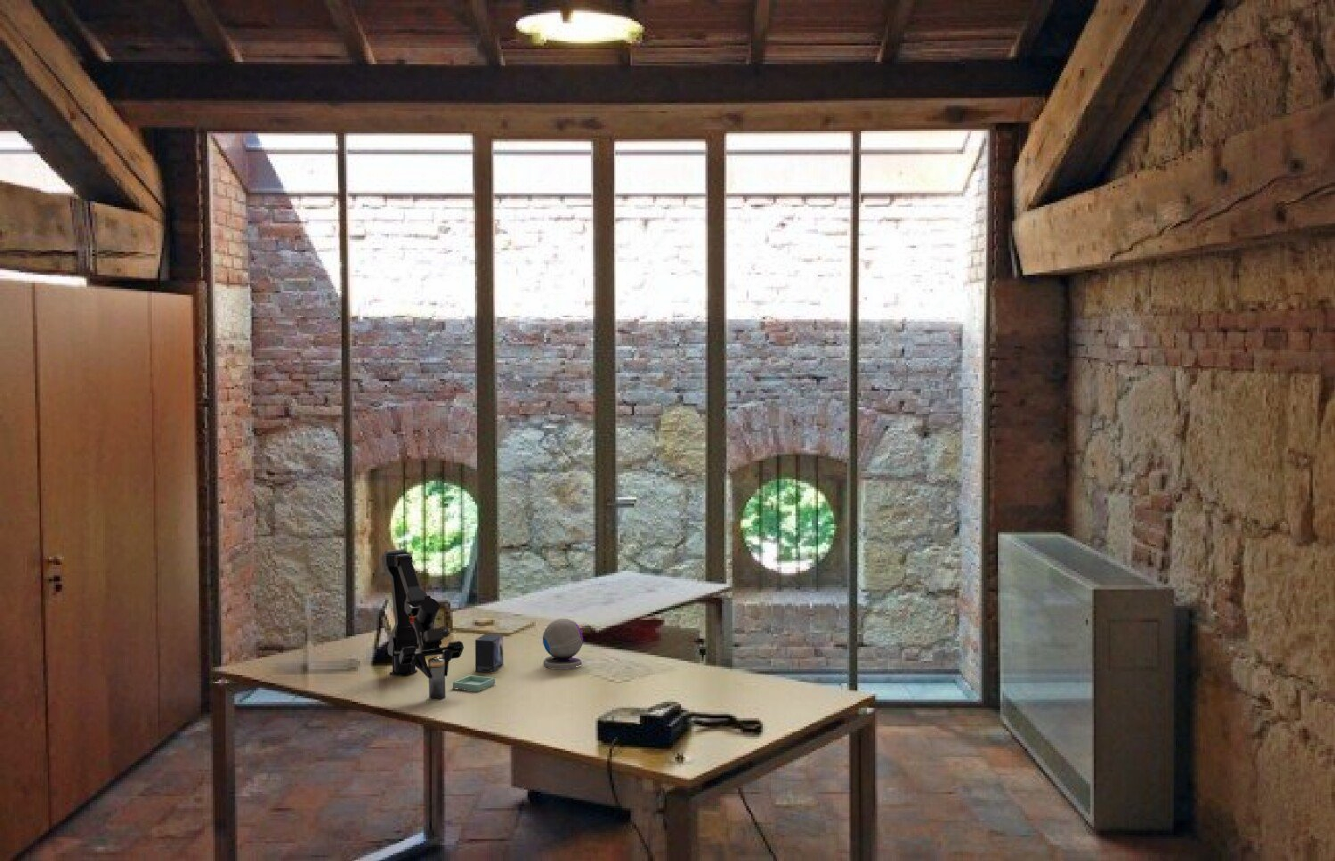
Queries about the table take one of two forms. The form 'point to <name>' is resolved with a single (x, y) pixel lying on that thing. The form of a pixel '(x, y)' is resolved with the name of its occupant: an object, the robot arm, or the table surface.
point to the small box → (488, 652)
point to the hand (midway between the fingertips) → (438, 676)
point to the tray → (474, 683)
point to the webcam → (562, 644)
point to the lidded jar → (437, 678)
